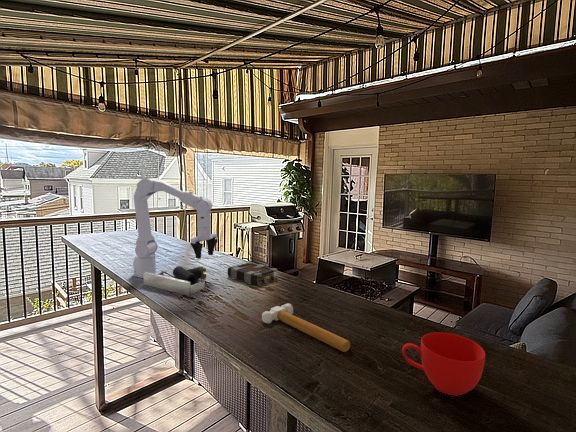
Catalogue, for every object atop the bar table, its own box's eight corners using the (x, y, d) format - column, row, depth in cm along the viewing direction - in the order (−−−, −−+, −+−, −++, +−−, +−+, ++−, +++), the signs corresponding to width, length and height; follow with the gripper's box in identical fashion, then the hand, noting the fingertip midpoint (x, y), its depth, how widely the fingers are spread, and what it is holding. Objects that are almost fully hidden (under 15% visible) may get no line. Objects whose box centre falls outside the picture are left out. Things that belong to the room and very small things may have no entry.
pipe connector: (196, 262, 157) (211, 270, 146) (197, 273, 158) (211, 281, 146) (172, 267, 150) (185, 275, 138) (173, 278, 151) (186, 287, 139)
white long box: (143, 284, 141) (143, 272, 140) (162, 278, 149) (161, 267, 149) (187, 295, 129) (187, 283, 128) (204, 288, 137) (204, 276, 137)
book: (250, 270, 164) (250, 260, 164) (289, 282, 148) (289, 271, 148) (226, 277, 153) (226, 266, 152) (266, 290, 137) (266, 278, 136)
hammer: (358, 346, 95) (285, 312, 116) (359, 333, 95) (286, 301, 116) (332, 362, 87) (259, 322, 108) (333, 348, 86) (259, 310, 108)
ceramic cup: (399, 363, 86) (402, 326, 84) (473, 376, 81) (477, 337, 79) (401, 395, 73) (404, 352, 72) (488, 412, 68) (493, 366, 67)
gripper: (199, 229, 140) (199, 261, 142) (222, 225, 153) (222, 254, 154) (186, 228, 143) (187, 259, 145) (210, 223, 156) (210, 252, 158)
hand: (204, 256), depth 150 cm, fingers open, 7 cm apart
